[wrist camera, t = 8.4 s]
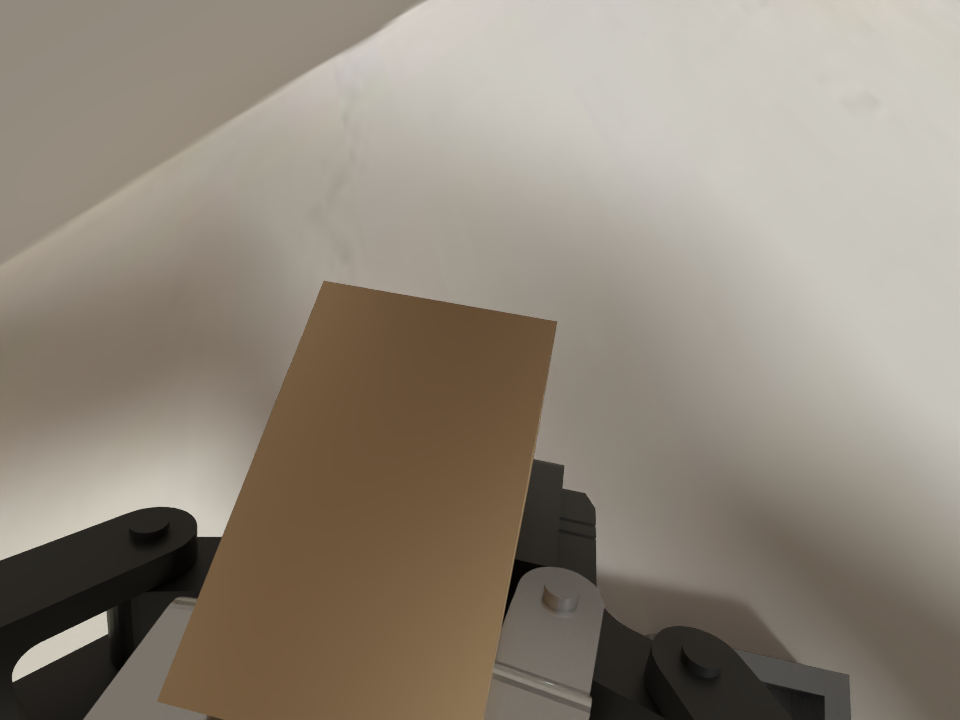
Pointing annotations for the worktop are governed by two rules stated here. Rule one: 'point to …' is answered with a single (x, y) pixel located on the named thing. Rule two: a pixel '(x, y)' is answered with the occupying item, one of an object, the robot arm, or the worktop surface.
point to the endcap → (801, 687)
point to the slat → (374, 519)
